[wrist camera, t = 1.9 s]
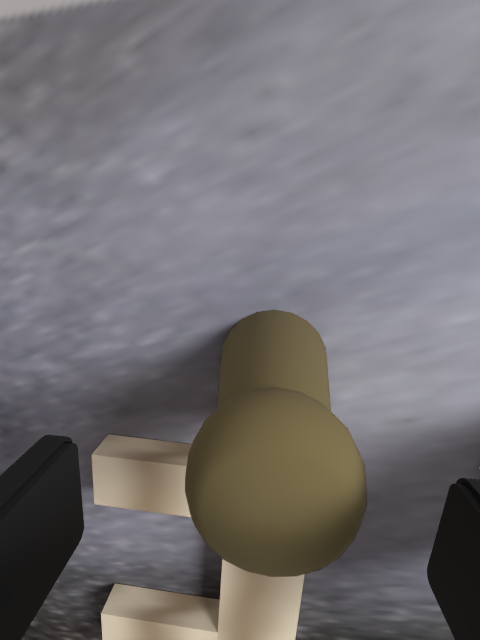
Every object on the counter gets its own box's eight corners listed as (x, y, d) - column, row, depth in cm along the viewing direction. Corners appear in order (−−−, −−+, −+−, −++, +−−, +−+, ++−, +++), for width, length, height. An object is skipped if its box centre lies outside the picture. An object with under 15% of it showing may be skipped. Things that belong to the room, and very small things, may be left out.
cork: (260, 426, 20) (245, 648, 9) (199, 348, 19) (105, 491, 8) (348, 375, 18) (451, 565, 8) (287, 288, 18) (310, 366, 7)
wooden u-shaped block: (313, 458, 20) (318, 482, 18) (287, 646, 24) (288, 682, 22) (108, 434, 21) (91, 454, 19) (116, 618, 25) (103, 650, 23)
